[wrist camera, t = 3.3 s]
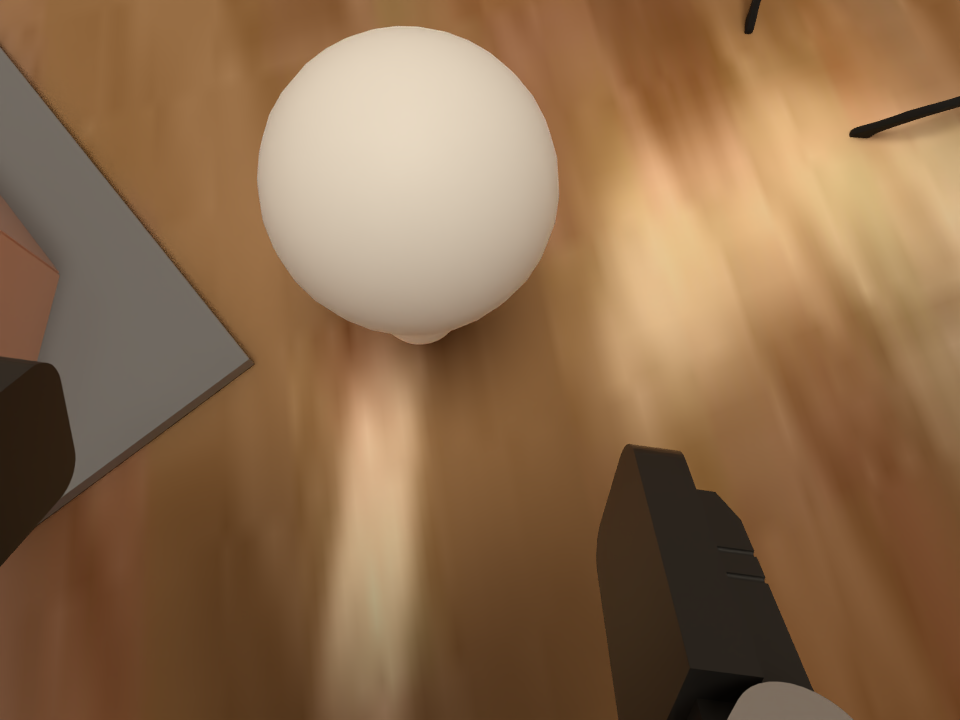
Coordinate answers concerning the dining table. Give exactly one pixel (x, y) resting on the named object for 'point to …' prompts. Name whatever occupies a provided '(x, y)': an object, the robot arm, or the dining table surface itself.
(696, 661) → the robot arm
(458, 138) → the lightbulb
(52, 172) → the ring holder
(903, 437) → the dining table surface
